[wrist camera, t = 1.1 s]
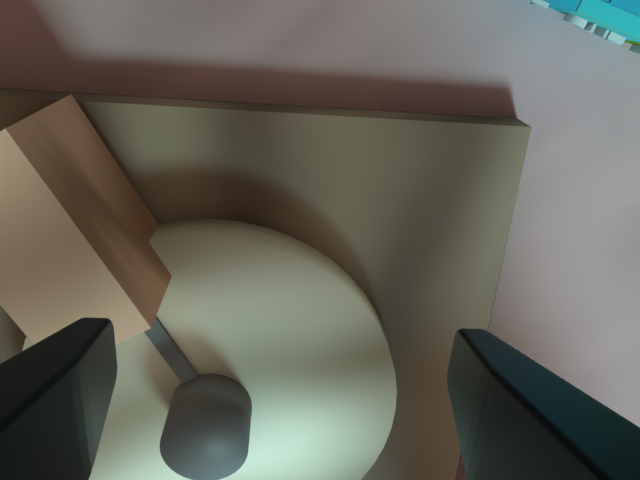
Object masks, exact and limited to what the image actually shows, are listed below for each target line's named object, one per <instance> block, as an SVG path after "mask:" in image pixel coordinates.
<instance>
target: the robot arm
mask: <svg viewBox="0 0 640 480" xmlns="http://www.w3.org/2000/svg"><path fill="white" fill-rule="evenodd" d="M116 377H117V357H116V346H115V335H114V326H113V323H112V321H111V320H110V319H108V318H91V317H84V318H81V319H79V320H77V321H75V322H73V323H71V324H70V325H68V326H66V327H64V328H63V329H61V330H59V331H57V332H55V333H54V334H52V335H50V336H48V337H46V338H45V339H43V340H41V341H39V342H38V343H36V344H34V345H32V346H30V347H29V348H27V349H25V350H23V351H22V352H20V353H18V354H16V355H14V356H13V357H11V358H9V359H7V360H5V361H4V362H2V363H0V480H89V478H90V475H91V472H92V469H93V465H94V462H95V458H96V454H97V451H98V447H99V443H100V439H101V435H102V432H103V428H104V424H105V420H106V417H107V413H108V409H109V405H110V401H111V398H112V394H113V390H114V386H115V382H116ZM447 388H448V393H449V398H450V403H451V407H452V412H453V417H454V422H455V427H456V431H457V436H458V441H459V446H460V451H461V456H462V460H463V465H464V469H465V473H466V477H467V480H640V428H639V427H638V426H636V425H635V424H633V423H632V422H630V421H628V420H627V419H625V418H624V417H622V416H620V415H619V414H617V413H616V412H614V411H613V410H611V409H609V408H608V407H606V406H605V405H603V404H602V403H600V402H598V401H597V400H595V399H594V398H592V397H590V396H589V395H587V394H586V393H584V392H583V391H581V390H579V389H578V388H576V387H575V386H573V385H571V384H570V383H568V382H567V381H565V380H564V379H562V378H560V377H559V376H557V375H556V374H554V373H553V372H551V371H549V370H548V369H546V368H545V367H543V366H541V365H540V364H538V363H537V362H535V361H534V360H532V359H530V358H529V357H527V356H526V355H524V354H522V353H521V352H519V351H518V350H516V349H515V348H513V347H511V346H510V345H508V344H507V343H505V342H504V341H502V340H500V339H499V338H497V337H496V336H494V335H492V334H491V333H489V332H488V331H486V330H484V329H470V328H461V329H459V330H457V331H456V333H455V336H454V339H453V345H452V350H451V355H450V361H449V366H448V372H447Z"/></svg>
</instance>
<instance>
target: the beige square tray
mask: <svg viewBox="0 0 640 480" xmlns="http://www.w3.org/2000/svg"><path fill="white" fill-rule="evenodd" d="M70 94H72V96H73V97H74V99H75V100H76V102H77V103H78V105H79V106H80V108H81V109H82V111H83V112H84V114H85V115H86V117H87V118H88V120H89V121H90V123H91V124H92V126H93V127H94V129H95V130H96V132H97V133H98V135H99V136H100V138H101V139H102V141H103V142H104V144H105V145H106V147H107V148H108V150H109V151H110V153H111V154H112V156H113V157H114V159H115V160H116V162H117V163H118V165H119V166H120V168H121V169H122V171H123V172H124V174H125V175H126V177H127V178H128V180H129V181H130V183H131V184H132V186H133V188H134V189H135V191H136V192H137V194H138V195H139V197H140V198H141V200H142V201H143V203H144V204H145V206H146V207H147V209H148V210H149V212H150V213H151V215H152V216H153V218H154V219H155V221H156V222H157V224H162V223H167V222H174V221H181V220H189V219H221V220H230V221H240V222H245V223H250V224H254V225H258V226H263V227H267V228H270V229H273V230H276V231H278V232H281V233H284V234H287V235H289V236H292V237H294V238H296V239H298V240H300V241H302V242H304V243H306V244H308V245H310V246H312V247H314V248H315V249H316V250H318V251H319V252H321V253H322V254H324V255H325V256H327V257H328V258H330V259H331V260H333V261H334V262H335V263H336V264H337V265H338V266H340V267H341V268H342V269H343V270H344V271H345V272H346V273H347V274H349V275H350V276H351V278H352V279H353V280H354V281H355V282H356V283H357V285H358V286H359V287H360V288H361V289H362V290H363V292H364V293H365V294H366V296H367V298H368V299H369V301H370V302H371V304H372V306H373V307H374V309H375V310H376V313H377V315H378V317H379V319H380V322H381V324H382V326H383V329H384V332H385V336H386V339H387V343H388V347H389V350H390V354H391V358H392V362H393V366H394V369H395V377H396V387H397V396H396V411H395V415H394V419H393V423H392V428H391V431H390V433H389V436H388V438H387V441H386V443H385V446H384V448H383V449H382V451H381V453H380V455H379V456H378V458H377V460H376V461H375V463H374V464H373V466H372V467H371V468H370V469H369V471H368V472H367V473H366V474H365V476H364V477H363V478H362V479H361V480H455V479H456V474H457V470H458V465H459V460H460V456H461V451H460V446H459V441H458V436H457V431H456V427H455V422H454V417H453V412H452V407H451V403H450V398H449V393H448V388H447V372H448V366H449V361H450V355H451V350H452V345H453V339H454V336H455V333H456V331H457V330H459V329H461V328H470V329H484V330H486V331H487V330H488V325H489V321H490V316H491V312H492V307H493V302H494V298H495V293H496V288H497V284H498V279H499V274H500V270H501V265H502V260H503V256H504V251H505V246H506V242H507V237H508V233H509V228H510V223H511V219H512V214H513V209H514V205H515V200H516V195H517V191H518V186H519V181H520V177H521V172H522V167H523V163H524V158H525V154H526V149H527V144H528V140H529V135H530V130H531V127H530V126H529V125H527V124H525V123H524V122H522V121H520V120H519V119H511V118H494V117H477V116H460V115H443V114H426V113H408V112H391V111H374V110H357V109H340V108H323V107H306V106H289V105H272V104H255V103H237V102H220V101H203V100H186V99H169V98H152V97H135V96H118V95H101V94H83V93H66V92H49V91H32V90H15V89H0V131H2V130H4V129H5V128H7V127H9V126H11V125H13V124H15V123H17V122H19V121H21V120H23V119H24V118H26V117H28V116H30V115H32V114H34V113H36V112H38V111H40V110H42V109H44V108H45V107H47V106H49V105H51V104H53V103H55V102H57V101H59V100H61V99H63V98H65V97H66V96H68V95H70ZM26 337H27V336H26V335H25V334H24V332H23V331H22V330H21V329H20V328H19V326H18V325H17V324H16V323H15V322H14V321H13V319H12V318H11V317H10V316H9V315H8V313H7V312H6V311H5V310H4V309H3V308H2V306H1V305H0V363H2V362H4V361H5V360H7V359H9V358H11V357H13V356H14V355H16V354H18V353H20V352H22V349H23V346H24V342H25V339H26Z"/></svg>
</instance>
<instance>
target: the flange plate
mask: <svg viewBox="0 0 640 480" xmlns="http://www.w3.org/2000/svg"><path fill="white" fill-rule="evenodd" d="M0 305H1V306H2V308H3V309H4V310H5V311H6V312H7V313H8V315H9V316H10V317H11V318H12V319H13V321H14V322H15V323H16V324H17V325H18V326H19V328H20V329H21V330H22V331H23V332H24V334H25V335H26V336H27V337H26V339H25V342H24V346H23V349H22V351H23V350H25V349H27V348H29V347H30V346H32V345H34V344H36V343H38V342H39V341H41V340H43V339H45V338H46V337H48V336H50V335H52V334H54V333H55V332H57V331H59V330H61V329H63V328H64V327H66V326H68V325H70V324H71V323H73V322H75V321H77V320H79V319H81V318H84V317H91V318H108V319H110V320H111V321H112V323H113V326H114V335H115V346H116V357H117V377H116V382H115V386H114V390H113V394H112V398H111V401H110V405H109V409H108V413H107V417H106V420H105V424H104V428H103V432H102V435H101V439H100V443H99V447H98V451H97V454H96V458H95V462H94V465H93V469H92V472H91V475H90V478H89V480H361V479H362V478H363V477H364V476H365V474H366V473H367V472H368V471H369V469H370V468H371V467H372V466H373V464H374V463H375V461H376V460H377V458H378V456H379V455H380V453H381V451H382V449H383V448H384V446H385V443H386V441H387V438H388V436H389V433H390V431H391V428H392V423H393V419H394V415H395V411H396V396H397V387H396V377H395V369H394V366H393V362H392V358H391V354H390V350H389V347H388V343H387V339H386V336H385V332H384V329H383V326H382V324H381V322H380V319H379V317H378V315H377V313H376V310H375V309H374V307H373V306H372V304H371V302H370V301H369V299H368V298H367V296H366V294H365V293H364V292H363V290H362V289H361V288H360V287H359V286H358V285H357V283H356V282H355V281H354V280H353V279H352V278H351V276H350V275H349V274H347V273H346V272H345V271H344V270H343V269H342V268H341V267H340V266H338V265H337V264H336V263H335V262H334V261H333V260H331V259H330V258H328V257H327V256H325V255H324V254H322V253H321V252H319V251H318V250H316V249H315V248H314V247H312V246H310V245H308V244H306V243H304V242H302V241H300V240H298V239H296V238H294V237H292V236H289V235H287V234H284V233H281V232H278V231H276V230H273V229H270V228H267V227H263V226H258V225H254V224H250V223H245V222H240V221H230V220H221V219H189V220H181V221H174V222H167V223H162V224H157V222H156V221H155V219H154V218H153V216H152V215H151V213H150V212H149V210H148V209H147V207H146V206H145V204H144V203H143V201H142V200H141V198H140V197H139V195H138V194H137V192H136V191H135V189H134V188H133V186H132V184H131V183H130V181H129V180H128V178H127V177H126V175H125V174H124V172H123V171H122V169H121V168H120V166H119V165H118V163H117V162H116V160H115V159H114V157H113V156H112V154H111V153H110V151H109V150H108V148H107V147H106V145H105V144H104V142H103V141H102V139H101V138H100V136H99V135H98V133H97V132H96V130H95V129H94V127H93V126H92V124H91V123H90V121H89V120H88V118H87V117H86V115H85V114H84V112H83V111H82V109H81V108H80V106H79V105H78V103H77V102H76V100H75V99H74V97H73V96H72V94H70V95H68V96H66V97H65V98H63V99H61V100H59V101H57V102H55V103H53V104H51V105H49V106H47V107H45V108H44V109H42V110H40V111H38V112H36V113H34V114H32V115H30V116H28V117H26V118H24V119H23V120H21V121H19V122H17V123H15V124H13V125H11V126H9V127H7V128H5V129H4V130H2V131H0Z"/></svg>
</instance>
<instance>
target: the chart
mask: <svg viewBox="0 0 640 480" xmlns="http://www.w3.org/2000/svg"><path fill="white" fill-rule="evenodd" d="M526 1H527V0H526ZM529 1H531V3H530V4H532V5H539V6H542V7H544V8H548V7H550V8H552V9H554V10H557V11H559V12H561V13H563V14H565V17H564V19H563V20H564V21H566V22H568V23H570V24H572V25H575V26H577V27H579V28H582V29H584V30H586V31H588V32H590V33H592V34H595V35H597V36H600V37H603V38H604V39H606V40H609V41H611V42H614V43H617V44H619V45H621V46H622V44H623V43H624V41H626V42H628V43H630V44H632V46H631V48H630V49H629V50H631V51H633V52H636V53H639V54H640V0H529Z"/></svg>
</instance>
